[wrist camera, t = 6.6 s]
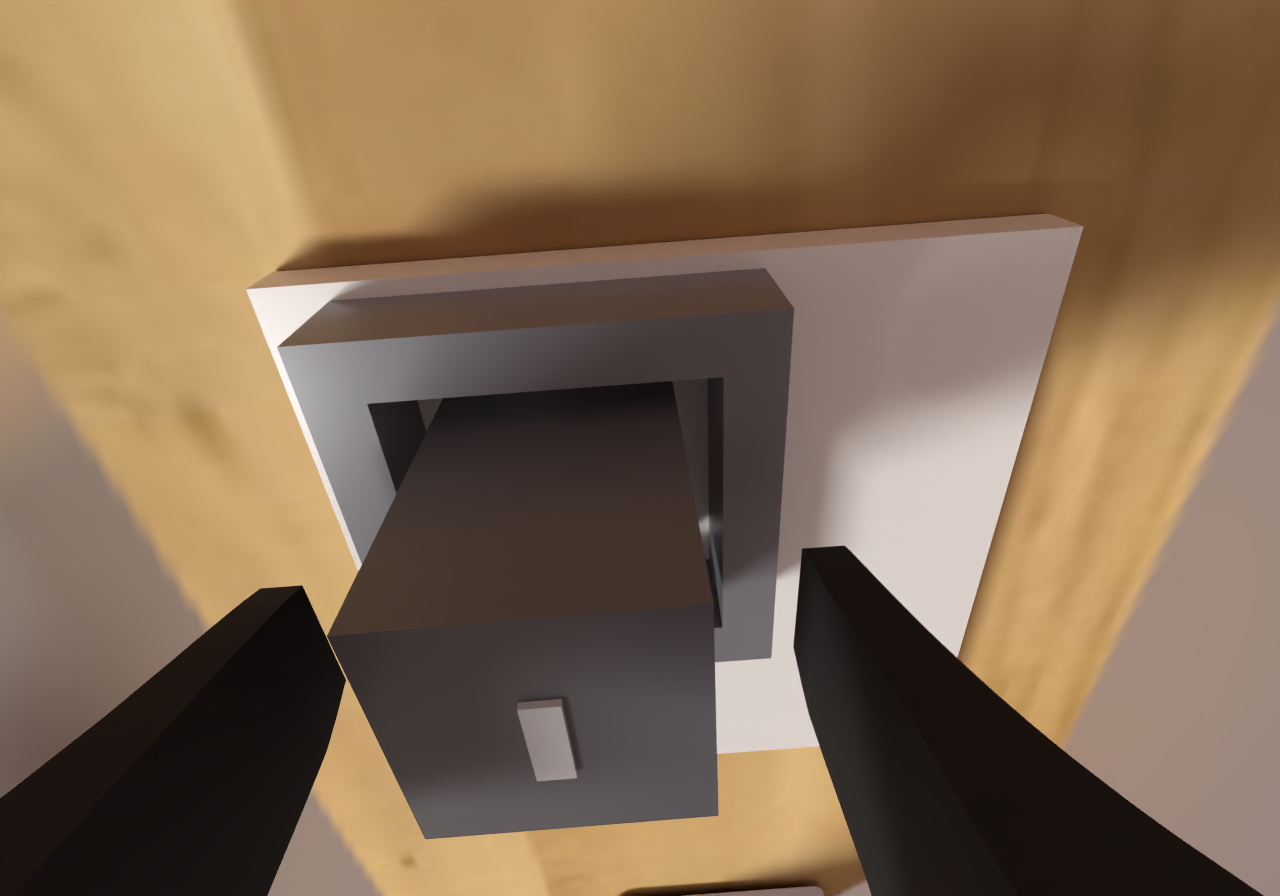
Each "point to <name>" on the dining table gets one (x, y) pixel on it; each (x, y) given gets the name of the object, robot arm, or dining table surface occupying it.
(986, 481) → the outlet plate
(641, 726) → the block
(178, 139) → the dining table surface
